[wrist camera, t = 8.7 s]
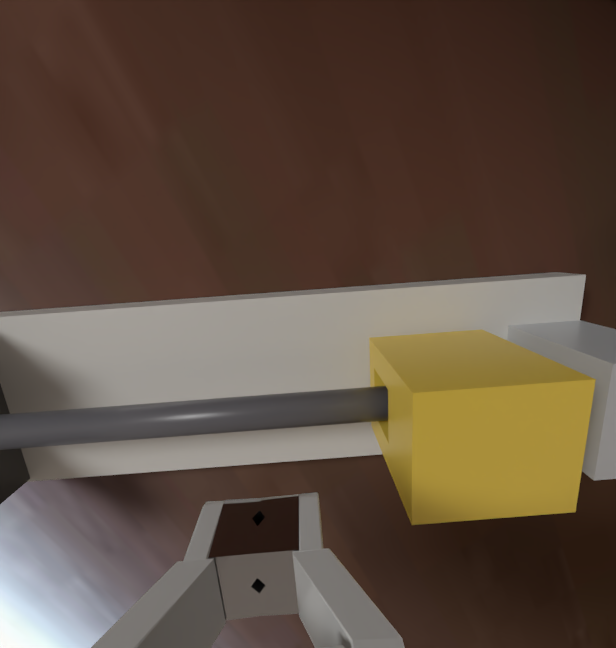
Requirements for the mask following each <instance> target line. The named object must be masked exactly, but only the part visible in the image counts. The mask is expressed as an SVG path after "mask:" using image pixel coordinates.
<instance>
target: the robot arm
mask: <svg viewBox="0 0 616 648" xmlns="http://www.w3.org/2000/svg"><path fill="white" fill-rule="evenodd" d="M284 614H299V616H300V618H301V620H302V622H303V624H304V626H305V628H306V630H307V632H308V634H309V636H310V638H311V640H312V642H313V644H314V646H315V648H405V647H404V644H403V640H402V637H401V636H400V635H399V634H398V632H397V631H396V630H395V629H394V628H393V626H392V625H391V624H390V623H389V621H388V620H387V619H386V618H385V616H384V615H383V614H382V613H381V611H380V610H379V609H378V608H377V607H376V605H375V604H374V603H373V602H372V600H371V599H370V598H369V597H368V595H367V594H366V593H365V592H364V591H363V589H362V588H361V587H360V586H359V584H358V583H357V582H356V581H355V579H354V578H353V577H352V576H351V574H350V573H349V572H348V571H347V570H346V568H345V567H344V566H343V565H342V563H341V562H340V561H339V560H338V558H337V557H336V556H335V555H334V553H333V552H332V551H331V550H330V549H323V539H322V527H321V515H320V504H319V494H318V493H317V492H315V493H305V494H298V495H287V496H277V497H266V498H253V499H236V500H226V501H209V502H206V503H205V505H204V506H203V508H202V510H201V513H200V516H199V519H198V521H197V524H196V527H195V530H194V533H193V535H192V538H191V541H190V544H189V547H188V549H187V552H186V555H185V558H184V561H180V562H176V563H175V564H174V565H173V566H172V567H171V568H170V569H169V570H168V571H167V572H166V573H165V574H164V575H163V576H162V577H161V578H160V579H159V580H158V581H157V582H156V583H155V584H154V585H153V586H152V587H151V588H150V589H149V590H148V591H147V592H146V593H145V594H144V595H143V596H142V597H141V598H140V599H139V600H138V601H137V602H136V603H135V604H134V605H133V606H132V607H131V608H130V609H129V610H128V611H127V612H126V613H125V614H124V615H123V616H122V617H121V618H120V619H119V620H118V621H117V622H116V623H115V624H114V625H113V626H112V627H111V628H110V629H109V630H108V631H107V632H106V633H105V634H104V635H103V636H102V637H101V638H100V639H99V640H98V641H97V642H96V643H95V644H94V645H93V646H92V647H91V648H211V647H212V645H213V643H214V642H215V640H216V638H217V637H218V635H219V634H220V632H221V630H222V629H223V627H224V625H225V624H226V621H225V620H232V619H240V618H248V617H256V616H266V615H284Z"/></svg>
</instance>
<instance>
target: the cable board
mask: <svg viewBox="0 0 616 648" xmlns="http://www.w3.org/2000/svg"><path fill="white" fill-rule="evenodd" d="M585 279H586V275H582V274H571V273H560V272H552V273H538V274H524V275H510V276H496V277H482V278H468V279H454V280H440V281H427V282H413V283H399V284H385V285H371V286H357V287H343V288H329V289H315V290H301V291H287V292H273V293H259V294H245V295H231V296H218V297H204V298H190V299H176V300H162V301H148V302H134V303H120V304H106V305H92V306H78V307H64V308H50V309H36V310H22V311H9V312H0V504H1V503H2V502H3V501H4V500H6V499H7V498H8V497H9V496H10V495H11V494H13V493H14V492H15V491H16V490H17V489H18V488H20V487H21V486H22V485H23V484H24V483H26V482H28V481H41V480H54V479H67V478H80V477H93V476H106V475H119V474H132V473H145V472H158V471H171V470H184V469H197V468H210V467H223V466H236V465H249V464H262V463H275V462H288V461H301V460H314V459H327V458H340V457H353V456H367V455H380V454H383V453H382V451H381V448H380V446H379V444H378V441H377V439H376V436H375V434H374V431H373V429H372V426H371V422H375V421H388V389H387V388H386V386H376V387H370V349H369V338H371V337H385V336H399V335H412V334H426V333H440V332H453V331H467V330H481V329H482V330H485V331H487V332H489V333H491V334H494V335H496V336H498V337H501V338H503V339H505V340H507V341H510V342H512V343H514V344H516V345H519V346H521V347H523V348H526V349H528V350H530V351H532V352H535V353H537V354H539V355H542V356H544V357H546V358H548V359H551V360H553V361H555V362H557V363H560V364H562V365H564V366H567V367H569V368H571V369H573V370H576V371H578V372H580V373H582V374H585V375H587V376H589V377H592V378H594V379H596V381H595V388H594V394H593V401H592V407H591V414H590V420H589V427H588V433H587V440H586V447H585V453H584V460H583V466H582V472H584V473H585V474H586V475H588V476H589V477H590V478H591V479H593V480H606V479H616V329H612V328H608V327H604V326H600V325H596V324H592V323H589V322H585V321H581V320H580V316H581V308H582V301H583V294H584V286H585Z"/></svg>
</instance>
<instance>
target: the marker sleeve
mask: <svg viewBox="0 0 616 648" xmlns="http://www.w3.org/2000/svg"><path fill="white" fill-rule="evenodd" d="M369 349H370V387H376V386H386V388H387V389H388V421H375V422H371V426H372V429H373V431H374V434H375V436H376V439H377V441H378V444H379V446H380V448H381V451H382V453H383V456H384V458H385V461H386V463H387V466H388V468H389V471H390V473H391V476H392V478H393V480H394V483H395V485H396V488H397V490H398V493H399V495H400V498H401V500H402V503H403V505H404V508H405V510H406V512H407V515H408V517H409V520H410V522H411V525H419V524H432V523H444V522H457V521H470V520H482V519H495V518H508V517H520V516H533V515H546V514H559V513H571V512H576V505H577V499H578V492H579V486H580V479H581V473H582V466H583V460H584V453H585V447H586V440H587V433H588V427H589V420H590V414H591V407H592V401H593V394H594V388H595V381H596V379H594V378H592V377H589V376H587V375H585V374H582V373H580V372H578V371H576V370H573V369H571V368H569V367H567V366H564V365H562V364H560V363H557V362H555V361H553V360H551V359H548V358H546V357H544V356H542V355H539V354H537V353H535V352H532V351H530V350H528V349H526V348H523V347H521V346H519V345H516V344H514V343H512V342H510V341H507V340H505V339H503V338H501V337H498V336H496V335H494V334H491V333H489V332H487V331H485V330H482V329H481V330H467V331H453V332H440V333H426V334H412V335H399V336H385V337H371V338H369Z"/></svg>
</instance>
